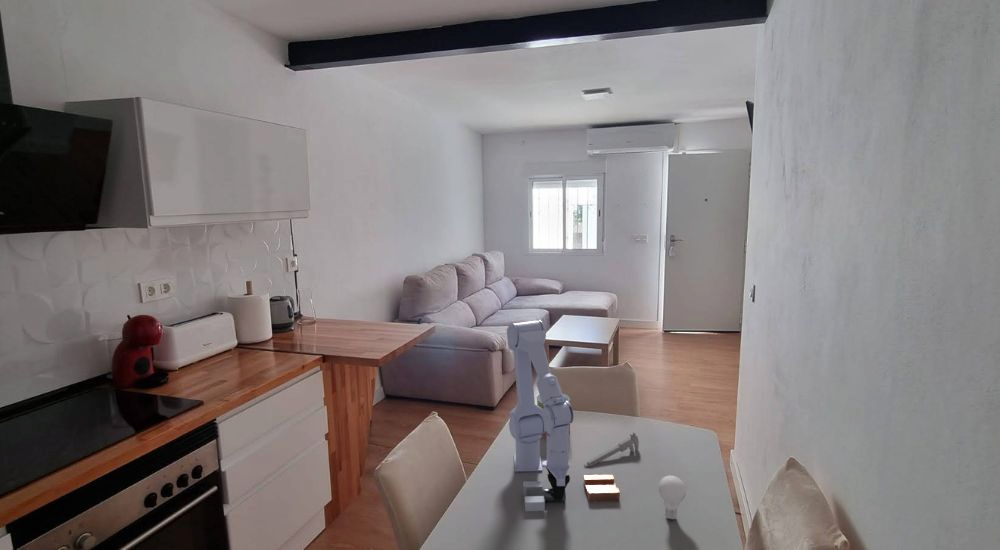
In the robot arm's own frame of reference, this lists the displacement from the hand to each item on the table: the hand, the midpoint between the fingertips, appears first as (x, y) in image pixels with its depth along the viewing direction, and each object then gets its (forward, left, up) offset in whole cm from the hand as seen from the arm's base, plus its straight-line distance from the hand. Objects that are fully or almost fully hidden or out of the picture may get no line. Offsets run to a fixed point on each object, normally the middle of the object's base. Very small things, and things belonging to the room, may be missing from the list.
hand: (557, 494), depth 127 cm
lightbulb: (+8, +27, -2) cm, 28 cm away
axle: (0, -3, -1) cm, 3 cm away
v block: (-3, +12, -1) cm, 13 cm away
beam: (0, -6, -1) cm, 6 cm away
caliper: (-20, +19, -2) cm, 28 cm away
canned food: (-37, +3, -2) cm, 37 cm away
